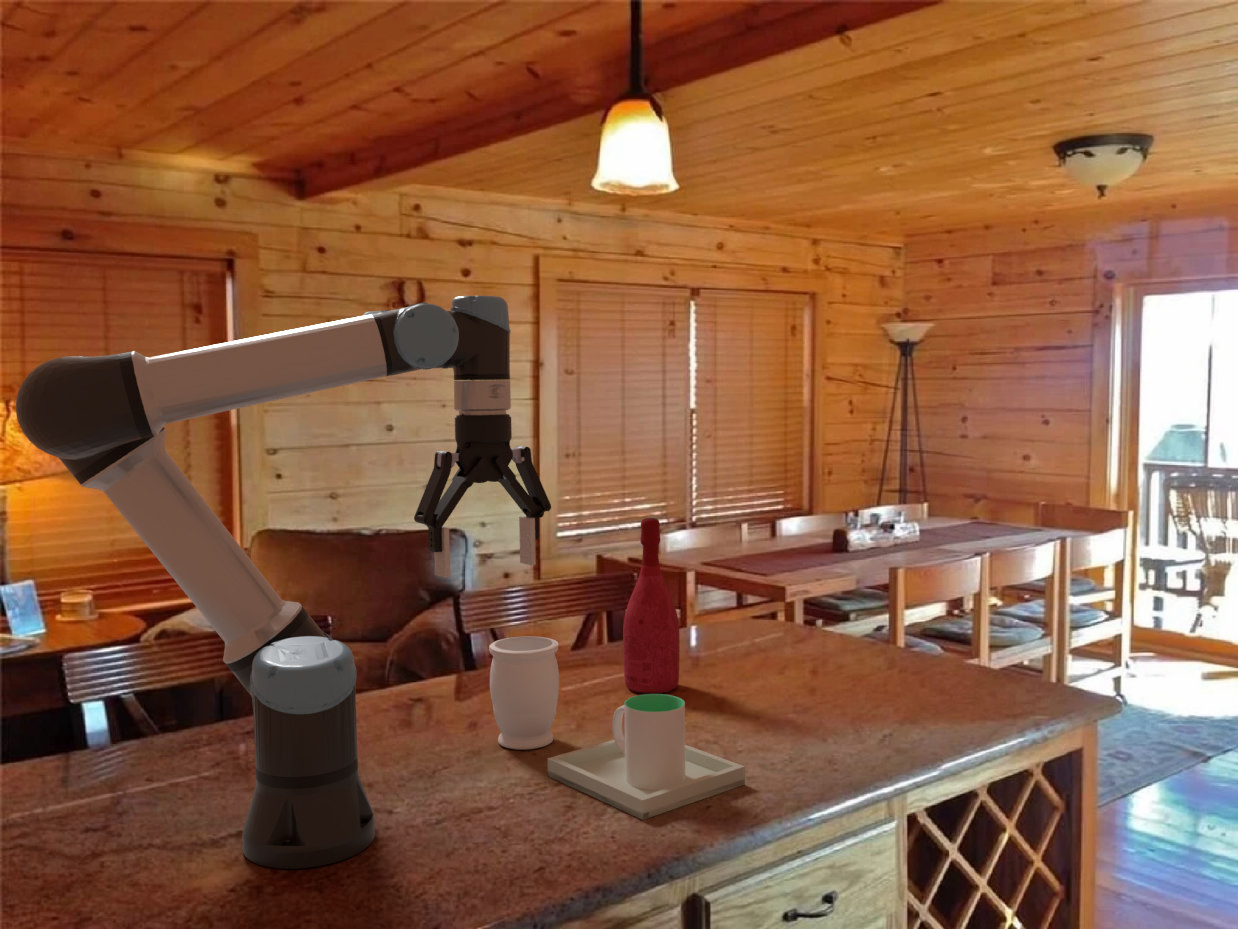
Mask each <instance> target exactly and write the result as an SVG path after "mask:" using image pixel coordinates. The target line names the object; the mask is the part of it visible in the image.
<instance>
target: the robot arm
mask: <svg viewBox="0 0 1238 929" xmlns="http://www.w3.org/2000/svg"><path fill="white" fill-rule="evenodd" d="M509 318H510V317H509V306H508V302H507V301H506V300H505V299H504V298H503V297H500V296H495V295H461V296H460V295H459V296H456V297H454V298H453V299H452V302H451V307H450V310H446V309H445V308H443V307H441V306H440V305H436V304H433V303H428V302H420V303H419V302H418V303H415V304H411V305H408V306H407V307H401V308H395V309H391V310H387V309H382V310H375V311H373V310H371V311H366V312H364V313H363V314H362V315H359V316H355V317H354V316H353V317H350V318H344V319H340V320H335V321H334V320H333V321H329V322H323V323H318V324H313V325H309V326H304V327H298V328H293V329H287V330H284V331H283V330H282V331H277V332H273V333H268V334H263V335H257V336H252V337H247V338H242V339H237V340H232V341H227V342H222V343H216V344H210V345H207V346H202V347H201V346H200V347H197V348H191V349H186V350H181V351H176V352H171V353H165V354H161V355H159V354H158V355H155V356H150V357H148V356H145V355H143V354H141V353H139V352H137V351H136V350H132V351H128V352H123V353H115V354H114V353H113V354H109V355H99V356H97V355H96V356H87V355H86V356H75V355H73V356H72V355H71V356H60V357H56V358H52V359H50V360H47V361H45V362H44V363H42V364H40V365H38V366H36V367H35V368H34V369H33V370H31V371H30V373H28V375H27V376H26V378H25V379H24V380H23V382H22V383H21V385H20V386H19V389H18V392H17V394H16V401H15V412H16V419H17V420H16V421H17V423H18V425H19V428H20V429H21V431H22V433H23V434H24V435H25V438H27V440H28V441H29V442H30V443H32V444H33V445H34V446H35V447H36V448H37V449H39V450H40V451H42V452H44V453H45V454H48V455H50V456H53V457H56V458H58V459H59V460H60V461H61V463H62V464H63V465H64V466H65V467H66V469H67V471H69V472H70V474H71V475H72V476H73V477H74V478H75V480H76V481H77V482H78V483H79V485H80V486H81V487H82V488H88V489H94V490H99V491H102V492H103V493H104V494H105V495H106V497H107V498H108V499H109V500H110V502H111V503H112V504H113V505H114V507H115V508H116V509H117V510H118V512H119V513H120V514H121V516H122V517H123V518H124V519H125V520H126V521H127V523H128V524H129V525H130V526H131V528H132V529H133V530H134V531H135V532H136V535H138V537H140V539H141V541H143V543H144V544H145V545H146V546H147V548H148V549H149V550H150V552H152V554H153V555H154V556H155V558H156V559H157V560H158V561H159V563H160V564H161V565H162V566H163V567H164V569H165V570H166V571H167V572H168V574H169V575H170V576H171V578H172V579H173V580H174V581H175V582H176V583H177V585H178V586H179V587H180V589H181V590H182V591H183V592H184V593H185V595H186V596H187V597H188V598H189V600H190V601H191V602H192V603H193V605H195V607H196V609H197V610H198V611H199V612H200V613H201V614H202V616H203V617H204V618H205V619H206V621H207V622H208V623H209V625H210V626H211V627H212V628H213V629H214V631H215V632H216V633H217V634H218V635H219V637H220V638H221V640H222V641H223V642H224V652H223V658H222V661H223V663H224V664H225V665H226V667H228V668H229V670H230V671H231V673H232V674H233V675H234V676H235V677H236V679H237V680H238V681H239V683H240V684H241V685H242V686H243V688H244V689H245V690H246V692H247V693H248V694H249V695H250V697H251V699H252V701H251V702H252V714H253V735H254V736H253V737H254V740H253V741H254V759H255V761H254V762H255V787H254V790H253V794H252V797H251V801H250V804H249V806H248V807H249V808H248V810H247V815H246V817H245V818H246V819H245V822H244V825H243V828H242V833H241V834H242V853H243V854H244V856H245V858H246V859H247V860H249V861H250V862H252V863H255V864H256V865H259V866H264V867H267V868H268V867H269V868H273V869H286V870H289V869H296V870H297V869H308V868H315V867H320V866H327V865H331V864H333V863H337V862H341V861H344V860H346V859H349V858H351V857H353V856H356V855H358V854H359V853H361V852H363V851H365V849H366V848H368V847H369V846H370V845H371V844H372V843H373V842H374V840H375V837H376V820H375V819H376V818H375V814H374V812H373V809H372V808H373V807H372V806H371V804H370V801H369V798H368V795H367V792H366V789H365V788H364V785H363V782H362V779H361V776H360V774H359V765H358V764H359V761H358V760H359V759H358V755H359V754H358V730H357V729H358V728H357V726H358V725H357V724H358V723H357V701H356V700H357V697H356V682H357V679H358V676H357V674H358V673H357V672H358V671H357V667H356V664H355V660H354V659H355V658H354V654H353V652H352V650H351V649H350V647H349V646H348V645H347V644H345V643H343V642H342V641H340V640H337V639H333V638H332V637H331V636H330V635H329V634H327V633H326V632H325V631H324V630H322V629H321V628H320V627H319V625H318V624H317V623H316V621H315V620H314V618H312V617H311V615H310V614H309V613H308V611H307V610H306V608H304V606H303V605H302V604H301V603H300V602H297V601H288V600H284V599H282V598H281V597H280V596H279V594H278V593H277V591H276V590H275V589H274V587H273V586H272V585H271V584H270V583H269V581H268V580H267V579H266V578H265V576H264V575H263V574H262V572H261V571H260V570H259V569H258V567H257V566H256V564H255V563H254V562H253V561H252V560H251V558H250V557H249V556H248V554H247V553H246V552H245V551H244V549H243V548H242V547H241V546H240V544H239V543H238V541H237V540H236V539H235V537H234V536H233V535H232V534H231V532H230V531H229V530H228V529H227V527H226V526H225V525H224V524H223V522H222V521H221V520H220V518H219V517H218V515H217V514H216V513H215V512H214V510H213V509H212V508H211V507H210V505H209V504H208V503H207V502H206V501H205V499H204V498H203V496H202V495H201V494H200V493H199V491H198V490H197V489H196V488H195V486H194V485H193V484H192V482H191V481H190V480H189V479H188V477H187V476H186V474H185V473H184V472H183V471H182V470H181V469H180V467H179V465H178V464H177V463H176V461H174V459H173V458H172V457H171V455H170V454H169V453H168V452H167V450H166V447H165V445H166V438H167V429H166V428H165V426H166V425H169V424H172V423H178V422H182V421H186V420H190V419H196V418H199V417H205V416H209V415H214V414H219V413H224V412H227V411H228V412H230V411H233V410H236V409H242V408H243V409H244V408H246V407H251V406H256V405H260V404H264V403H269V402H274V401H275V402H276V401H279V400H283V399H289V398H292V397H298V396H302V395H307V394H311V393H315V392H320V391H325V390H329V389H330V390H331V389H335V388H339V387H344V386H347V385H352V384H357V383H362V382H366V381H370V380H376V379H380V378H385V377H390V376H395V375H396V376H397V375H402V374H406V373H410V372H416V371H420V370H431V369H445V370H446V369H447V370H448V369H452V370H453V386H454V387H453V392H454V394H453V408H454V410H455V411H457V412H458V414H457V415H455V417H454V433H455V434H454V438H455V442H456V450H455V452H451V451H446V450H445V451H444V450H437V451H435V453H434V460H433V462H434V463H433V469H432V472H431V474H430V476H429V479H428V481H427V484H426V486H425V489H424V492H423V494H422V497H421V499H420V501H419V505H418V506H417V509H416V510H415V514H414V517H413V520H414V522H415V523H418V524H422V525H424V526H426V527H427V528H428V530H427V531H428V549H429V551H430V552H432V553H434V554H433V556H434V576H438V577H441V578H446V579H447V578H451V556H450V555H451V550H450V549H451V548H450V543H451V542H450V527H447V526H444V525H445V524H446V523H447V520H448V519H449V517H450V516H451V514H452V513H453V511H454V510H455V508H456V507H457V506H458V504H459V503H460V501H461V499H462V498H463V497H464V495H465V493H466V492H467V491H468V489H469V488H471V487H472V486H473V485H474V484H484V483H486V482H491V483H496V482H497V483H499V484H500V485H501V486H502V487H503V489H504V490H505V491H506V492H507V493H508V495H509V496H510V497H511V500H513V501H514V503H515V504H516V505H517V506H518V508H519V509H520V510H521V511H522V513H523V514H524V516H519V517H518V518H519V519H518V521H519V522H518V524H519V563H520V564H524V565H528V566H536V565H537V564H536V563H537V562H536V561H537V560H536V558H537V557H536V540H539V538H540V518H543V517H544V516H545V512H550V511H551V509H552V505H551V501H550V500H549V497H548V495H547V492H546V491H545V489H544V486H543V483H542V481H541V480H540V477H539V475H538V473H537V471H536V468H535V465H534V463H533V461H532V460H533V459H532V451H531V450H532V449H531V448H530V447H529V446H521V445H516V446H515V447H513V448H512V447H511V445H510V443H511V440H512V435H513V433H512V416H510V414H509V413H507V411H509V410H510V409H511V408H512V403H511V400H512V399H511V374H510V372H511V370H510V367H511V365H510V364H511V363H510V362H511V361H510V358H511V356H510V354H511V353H510V350H511V348H510V347H511V346H510V345H511V342H510V338H511V337H510V335H511V328H510V327H511V326H510V319H509ZM511 462H513V463H515V468H516V469H517V471H518V474H519V476H520V478H521V481H522V483H523V484H524V487H525V489H524V487H523V486H522V485H521V483H520V482H519V480H518V479H517V476H516V474H515V473H514V472H513V470H512V469H511V468H510V466H509V465H510V463H511ZM455 465H456V466H458V470H457V471H456V473H455V474H454V475H453V477H452V480H451V483H450V484H449V486H448V488H447V489H446V491H445V488H446V485H447V482H448V479H449V477H450V475H451V471H452V468H454V467H455ZM444 491H445V492H444Z"/></svg>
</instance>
